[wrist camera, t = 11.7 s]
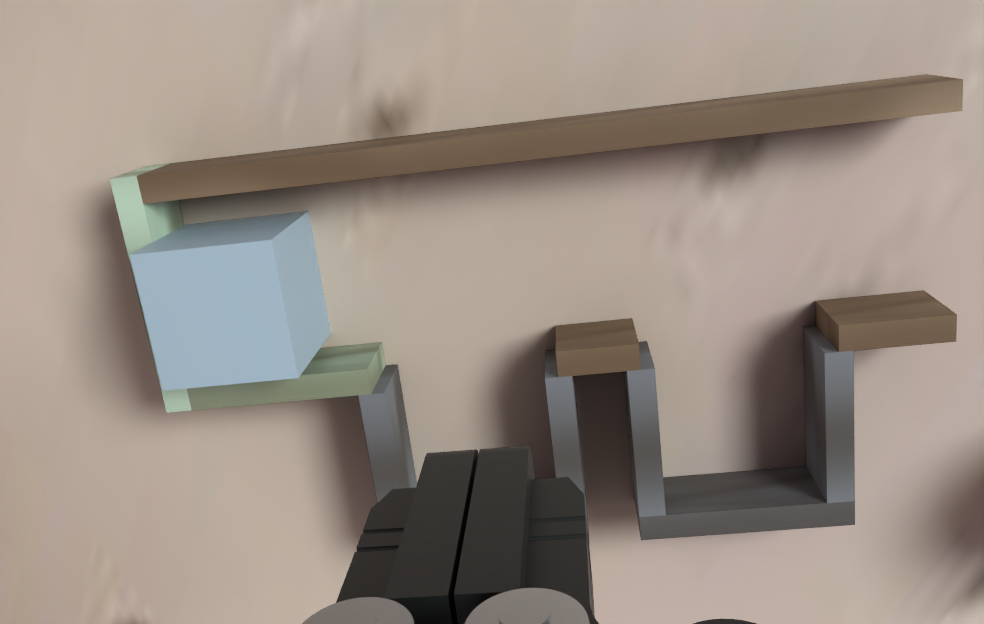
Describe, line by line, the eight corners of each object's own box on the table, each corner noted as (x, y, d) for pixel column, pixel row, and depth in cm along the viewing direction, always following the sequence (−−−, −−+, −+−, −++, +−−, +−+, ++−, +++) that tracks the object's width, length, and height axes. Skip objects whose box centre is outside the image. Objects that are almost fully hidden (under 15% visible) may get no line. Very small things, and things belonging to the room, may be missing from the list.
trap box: (145, 166, 35) (109, 179, 33) (927, 74, 33) (962, 79, 30) (230, 532, 40) (205, 571, 37) (920, 479, 37) (951, 517, 34)
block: (185, 224, 36) (129, 255, 31) (309, 210, 36) (271, 239, 31) (211, 344, 38) (162, 390, 33) (331, 332, 37) (298, 378, 32)
